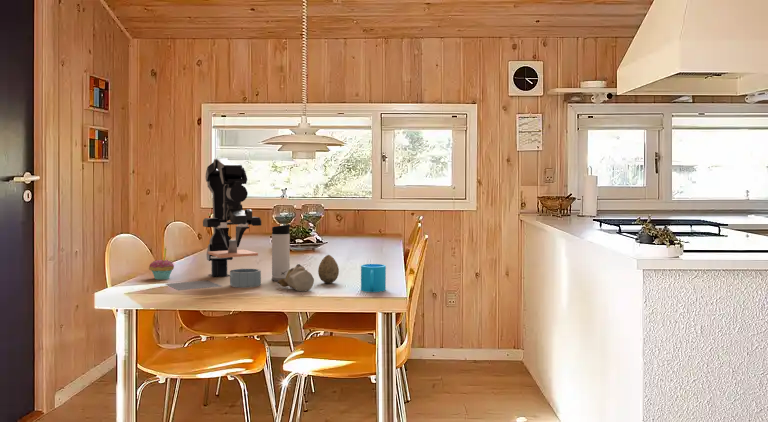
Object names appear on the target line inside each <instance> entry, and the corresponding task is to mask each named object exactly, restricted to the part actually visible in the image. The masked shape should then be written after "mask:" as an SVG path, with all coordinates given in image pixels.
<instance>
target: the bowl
mask: <svg viewBox="0 0 768 422" xmlns="http://www.w3.org/2000/svg"><path fill="white" fill-rule="evenodd" d="M229 275H230V276H229V284H230V287H232V288H244V289H245V288H246V289H247V288H256V287H259V286H261V285H262V270H261V269H257V268H235V269H234V268H233V269H231V270H230V271H229Z"/></svg>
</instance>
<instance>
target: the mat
mask: <svg viewBox="0 0 768 422" xmlns="http://www.w3.org/2000/svg"><path fill="white" fill-rule="evenodd" d="M165 285H166V286H169V287H171V288H173V289H175V290H177V291H186V290H196V289H209V288H217V287H218V288H219V287H221V288H222V285H221V284H218V283H215V282H213V281H211V280H206V279H205V280H195V281H193V280H192V281H182V282H181V281H180V282H169V283H168V282H167V283H165Z"/></svg>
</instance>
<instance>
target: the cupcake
mask: <svg viewBox="0 0 768 422" xmlns="http://www.w3.org/2000/svg"><path fill="white" fill-rule="evenodd" d="M166 256H167V247H164V250H163V259H156V260H153V261H152V262H150V264H149V266H148V270H149V271H151V272H152V274H153V277H154V279H155V280H168V279H170V277H171V274H172V271H174V268H175V264H174V263H172V261H169V260H167V259H166Z"/></svg>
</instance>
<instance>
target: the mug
mask: <svg viewBox="0 0 768 422" xmlns="http://www.w3.org/2000/svg"><path fill="white" fill-rule="evenodd" d="M386 266H387V265H386V264H383V263H382V264H381V263H366V264H365V263H364V264H361V266H360V291H362V292H365V293H379V292H380V291H382V292H386V289H387V287H386V283H387V281H386V280H387V279H386V277H387V276H386V274H387V270H386V269H387V267H386ZM380 293H381V292H380Z"/></svg>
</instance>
